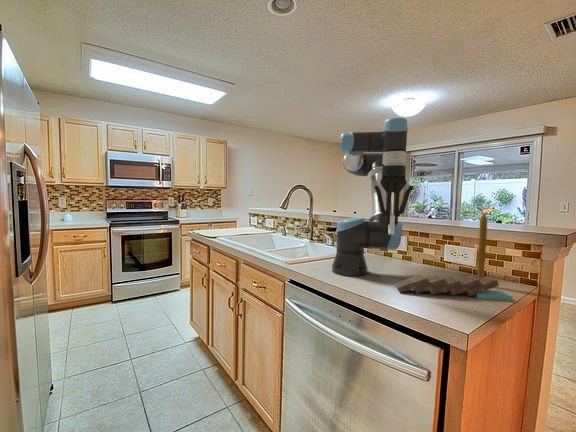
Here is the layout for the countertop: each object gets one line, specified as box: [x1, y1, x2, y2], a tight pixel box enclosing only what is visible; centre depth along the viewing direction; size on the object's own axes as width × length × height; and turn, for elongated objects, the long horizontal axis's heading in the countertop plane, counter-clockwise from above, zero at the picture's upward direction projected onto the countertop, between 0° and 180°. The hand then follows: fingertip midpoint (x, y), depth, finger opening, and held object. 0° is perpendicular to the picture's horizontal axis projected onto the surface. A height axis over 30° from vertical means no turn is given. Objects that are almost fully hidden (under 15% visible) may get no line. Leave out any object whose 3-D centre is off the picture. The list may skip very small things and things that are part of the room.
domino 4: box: [444, 275, 481, 296], centre depth 96 cm, size 2×5×10 cm
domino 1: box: [394, 273, 430, 294], centre depth 98 cm, size 2×5×10 cm
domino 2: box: [412, 274, 446, 295], centre depth 97 cm, size 2×5×10 cm
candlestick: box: [476, 212, 488, 279], centre depth 106 cm, size 27×5×5 cm
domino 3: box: [427, 276, 462, 296], centre depth 96 cm, size 2×5×10 cm
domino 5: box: [461, 275, 500, 297], centre depth 95 cm, size 2×5×10 cm
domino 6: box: [473, 289, 513, 302], centre depth 94 cm, size 2×5×10 cm
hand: (391, 233), depth 99 cm, fingers closed
